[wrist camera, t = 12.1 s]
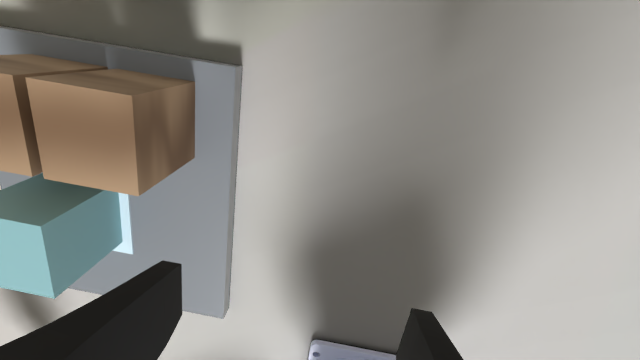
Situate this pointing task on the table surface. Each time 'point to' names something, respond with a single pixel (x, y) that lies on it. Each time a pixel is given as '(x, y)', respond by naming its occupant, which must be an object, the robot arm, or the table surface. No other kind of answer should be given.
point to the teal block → (54, 233)
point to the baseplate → (175, 190)
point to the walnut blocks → (93, 123)
